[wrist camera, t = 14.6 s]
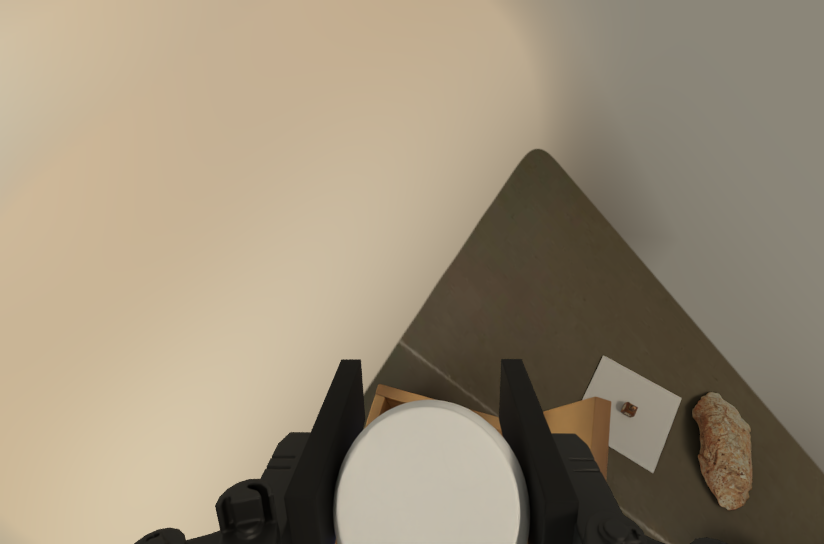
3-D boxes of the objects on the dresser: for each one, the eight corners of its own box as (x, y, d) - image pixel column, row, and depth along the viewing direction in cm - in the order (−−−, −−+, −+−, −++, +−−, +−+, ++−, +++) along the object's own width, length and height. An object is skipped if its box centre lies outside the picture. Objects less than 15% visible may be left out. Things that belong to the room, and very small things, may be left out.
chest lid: (570, 692, 15) (592, 699, 15) (595, 395, 19) (612, 401, 19) (484, 598, 25) (496, 603, 25) (513, 419, 30) (524, 423, 30)
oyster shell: (686, 500, 38) (754, 519, 36) (696, 497, 35) (770, 518, 33) (688, 391, 43) (748, 402, 41) (696, 380, 40) (762, 391, 38)
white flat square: (603, 355, 43) (609, 350, 42) (681, 398, 41) (691, 394, 39) (571, 423, 41) (576, 420, 39) (653, 473, 38) (662, 472, 37)
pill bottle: (481, 600, 16) (535, 731, 7) (349, 548, 17) (258, 608, 8) (510, 451, 18) (577, 415, 10) (392, 413, 19) (356, 349, 10)
